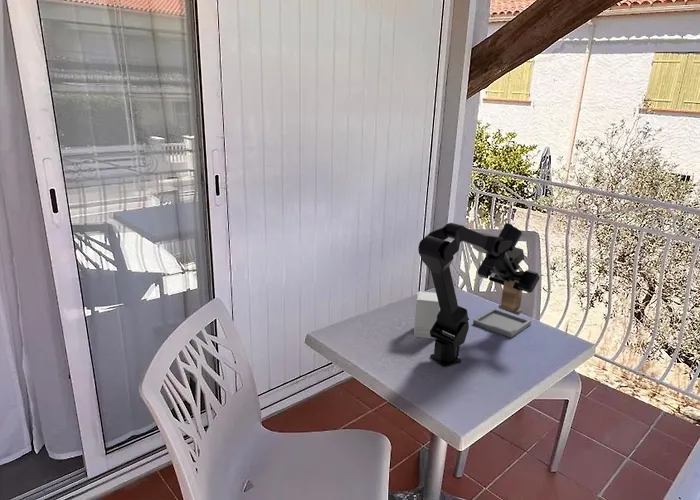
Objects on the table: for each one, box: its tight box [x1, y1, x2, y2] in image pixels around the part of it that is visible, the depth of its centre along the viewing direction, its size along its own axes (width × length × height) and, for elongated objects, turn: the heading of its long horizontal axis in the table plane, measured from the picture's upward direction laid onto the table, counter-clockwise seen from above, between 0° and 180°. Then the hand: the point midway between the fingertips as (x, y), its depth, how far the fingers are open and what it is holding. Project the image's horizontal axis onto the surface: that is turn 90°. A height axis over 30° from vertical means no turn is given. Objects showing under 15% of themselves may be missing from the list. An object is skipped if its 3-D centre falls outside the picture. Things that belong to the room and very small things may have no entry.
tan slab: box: [498, 270, 524, 316], centre depth 157 cm, size 4×7×13 cm, turn 42°
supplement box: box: [413, 291, 440, 339], centre depth 153 cm, size 7×7×13 cm
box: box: [472, 308, 532, 339], centre depth 162 cm, size 14×14×2 cm
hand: (515, 287), depth 157 cm, fingers closed on tan slab, 4 cm apart
